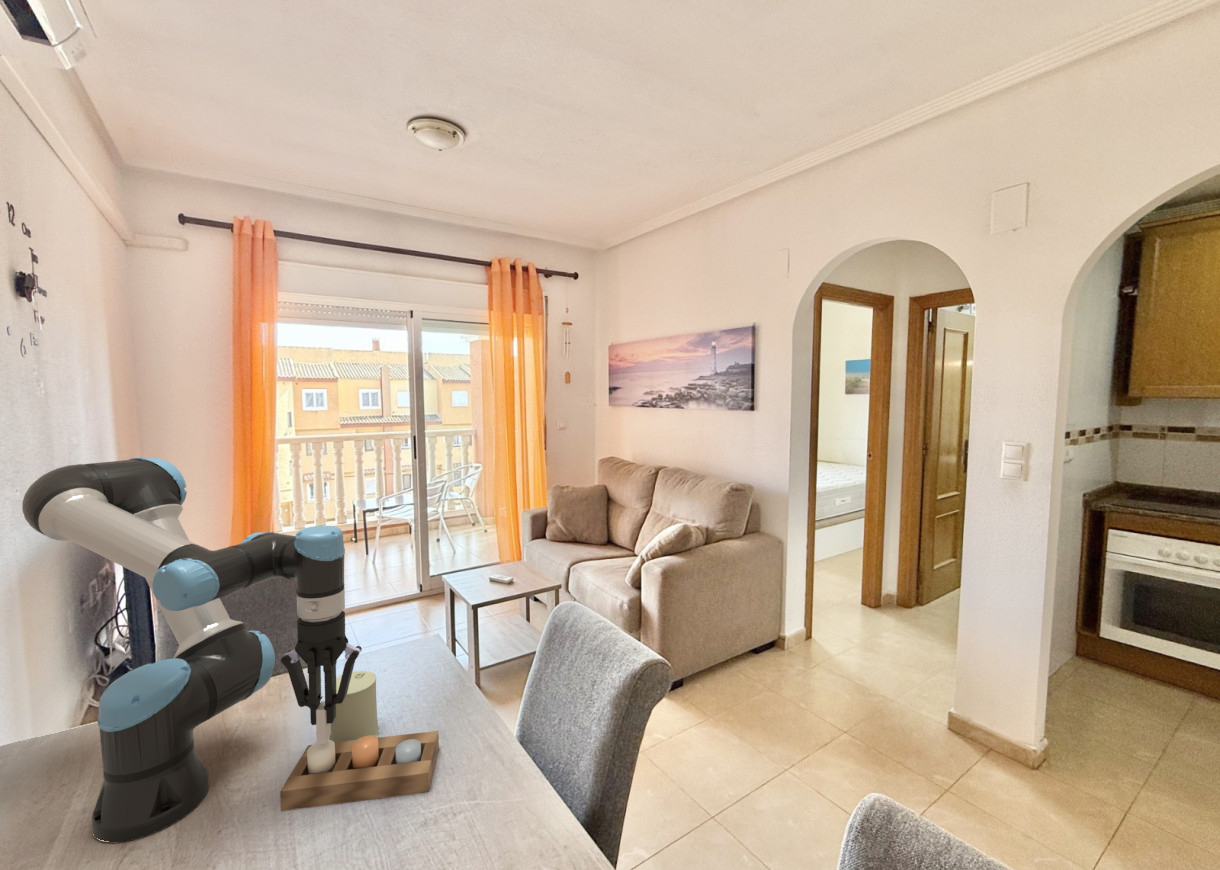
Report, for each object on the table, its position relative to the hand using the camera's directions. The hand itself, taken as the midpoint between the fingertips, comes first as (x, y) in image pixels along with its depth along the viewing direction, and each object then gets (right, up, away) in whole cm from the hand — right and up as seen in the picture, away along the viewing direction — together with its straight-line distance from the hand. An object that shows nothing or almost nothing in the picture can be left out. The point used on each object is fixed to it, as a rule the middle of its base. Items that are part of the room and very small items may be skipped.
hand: (323, 739), depth 96 cm
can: (-1, -7, +13) cm, 15 cm away
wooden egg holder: (+7, -8, +1) cm, 11 cm away
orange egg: (+7, -6, +1) cm, 9 cm away
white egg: (0, -6, 0) cm, 6 cm away
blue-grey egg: (+15, -7, +3) cm, 16 cm away
